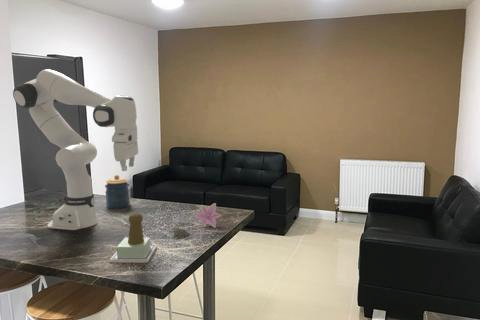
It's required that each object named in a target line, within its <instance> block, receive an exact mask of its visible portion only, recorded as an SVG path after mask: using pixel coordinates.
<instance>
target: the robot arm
mask: <svg viewBox="0 0 480 320" xmlns="http://www.w3.org/2000/svg"><path fill="white" fill-rule="evenodd" d="M12 96H13V100H14V101H15V103H16V104H17V105H18V106H20V108H23V109H29V110H28V112H29V114H30V116H31V118H32V120H33V121H34V123H35V124H36V126H37V127H38V128H39V130H40V131H41V132H42V133H43V134H44V136H45V138H47V140H48V141H49V143H51V144H53V145H56V146H57V147H59V148H60V149H59V150H58V151H57V153H56V155H55V161H56V164H57V166H58V167H60V169H61V170H62V172H63V174H64V177H65V181H66V189H67V190H66V191H67V195H66V196H65V197H64V198H63V199H62V202H64V204H63V205H61V206H60V207H59V208H58V209H57V210H55V211H54V212H53V214H52V217H51V221H49V222H48V223H47V228H48V229H55V230H56V229H57V230H65V231H66V230H68V231H77V230H80V229H85V228H89V227H92V226H94V225H95V226H96V225H97V224H98V223H99V220H98V217H97V214H96V210H95V195H94V193H93V192H94V191H93V181H92V180H93V179H92V177H91V175H90V174H89V173H88V170H87V165H89V164H91V163H92V162H93V161H94V160H95V159H96V157H97V155H98V151H97V147H96V145H94V144H93V143H91V142H89V141H87V140H86V139H85V138H83V137H82V136H81V135H80V134H79V133H78V132H76V130H74V129H73V128H72V127H71V125H69V123H68V122H67V121H66V120H65V119H64V117H63V116H62V115H61V114H60V113H59V111H58V110H57V108H55V105H54V103H57V102H58V103H59V102H60V103H61V104H63V105H64V104H65V105H68V106H69V105H71V106H87V107H91V108H93V111H92V118H93V121H94V123H95V124H96V125H97V126H99V127H100V128H112V127H114V133H113V135H112V136H111V142H112V143H113V148H112V149H113V154H114V160H115V161H116V162H119V164H120V167H121V171H122V172H126V171H128V166H129V167H130V168H131V167H134V166H135V158H136V156H137V155H138V154H139V145H138V138H139V137H138V127H137V106H136V102H135V99H134V98H132V97H131V96H127V95H115V96H114V97H113V98H112V99H109V98H108V97H106V96H104V95H102V94H99V93H97V92H95V91H93V90H91V89H89V88H88V87H85V86H84V85H82V84H80V83H78V82H77V81H76V80H74V79H72V78H70V77H68V76H67V75H65V74H63V73H61V72H58V71H56V70H54V69H53V70H52V69H50V68H47V69H43V70H41V71H39V73H38V74H37V76H36V78H33V79H32V80H29V81H26V82H25V83H20V84H18V85H17V86H15V87H14V89H13V91H12ZM127 160H128V161H129V162H128V166H127Z"/></svg>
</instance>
